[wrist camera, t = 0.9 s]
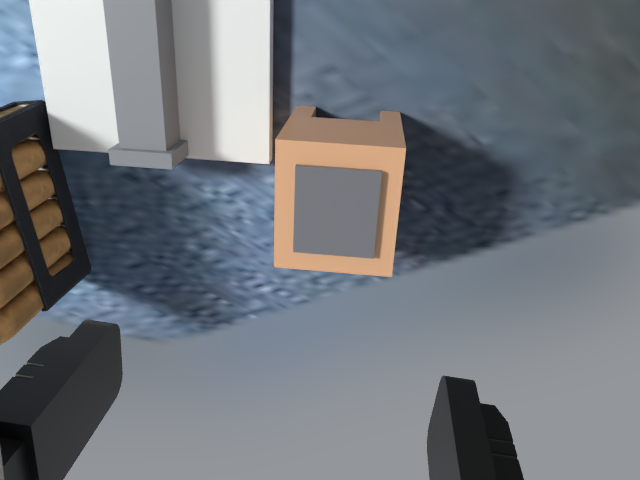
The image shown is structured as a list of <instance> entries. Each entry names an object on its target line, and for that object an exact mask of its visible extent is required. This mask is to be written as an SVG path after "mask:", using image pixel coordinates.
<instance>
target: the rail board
mask: <svg viewBox="0 0 640 480" xmlns="http://www.w3.org/2000/svg"><path fill="white" fill-rule="evenodd" d="M29 3H30V9H31V15H32V22H33V28H34V34H35V40H36V46H37V52H38V58H39V64H40V70H41V76H42V82H43V88H44V94H45V101H46V107H47V113H48V119H49V125H50V131H51V137H52V143H53V149H63V150H77V151H91V152H105V153H109V160H110V165H116V166H130V167H144V168H157V169H171V170H173V169H174V168H175V167H176V166H177V165H178V164H179V163H180V162H181V161H182V160H184V159H185V158H190V159H204V160H218V161H232V162H246V163H260V164H270V162H271V160H272V138H273V9H274V0H29Z"/></svg>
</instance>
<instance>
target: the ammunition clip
mask: <svg viewBox="0 0 640 480" xmlns="http://www.w3.org/2000/svg"><path fill="white" fill-rule="evenodd" d="M90 270H91V267H90V263H89V260H88V256H87V253H86V249H85V246H84V242H83V238H82V235H81V231H80V228H79V224H78V221H77V217H76V213H75V210H74V206H73V203H72V199H71V196H70V192H69V188H68V185H67V181H66V178H65V174H64V171H63V167H62V164H61V160H60V156H59V153H58V149H53V143H52V137H51V131H50V125H49V119H48V114H47V110H46V106H45V103H44V101H42V100H36V101H21V102H12V103H10V104H7V105H5V106H3V107H0V345H1V344H2V343H4V342H6V341H7V340H9V339H10V338H12V337H13V336H14V335H15V334H16V333H17V332H19V331H20V330H21V329H22V328H23V327H24V326H25V325H26V324H27V323H28V322H29V321H30V320H31V319H32V318H33V317H34V316H35V315H36V314H37V313H38V312H39V311H40V310H42V311H48V310H49V309H50V308H51V307H52V306H53V305H54V304H55V303H56V302H57V301H59V300H60V299H61V298H62V297H63V296H64V295H65V294H66V293H67V292H68V291H70V290H71V289H72V288H73V287H74V286H75V285H76V284H77V283H79V282H80V281H81V280H82V279H83V278H84V277H85V276H86V275H88V274H89V273H90Z"/></svg>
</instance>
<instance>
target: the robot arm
mask: <svg viewBox="0 0 640 480" xmlns="http://www.w3.org/2000/svg"><path fill="white" fill-rule="evenodd" d="M121 382H122V357H121V339H120V329H119V326H118V325H117V324H113V323H106V322H100V321H94V320H85V321H83V322H82V323H81V325H80V326H79V327H78V328H77V329H76V330H75V331H74V333H73V334H72V335H71V336H70V337H69V338H68V337H61V336H60V337H59V338H57V339H55V340H53V341H51V342H50V343H48V344H46V345H44V346H43V347H41V348H40V349H39V350H38V351H37V352H36V353H35V354H34V355H33V356H32V357H31V358H30V359H29V360H28V362H27V365H24V366H23V367H22V368H21V369H20V370H19V371H18V372H17V373H16V376H15V377H12V378H11V379H10V381H9V382H8V383H7V384H6V385H5V386H4V387H3V388H2V389H1V390H0V480H63V479H64V478H65V476H66V474H67V473H68V471H69V470H70V468H71V467H72V465H73V464H74V462H75V461H76V459H77V458H78V456H79V455H80V453H81V451H82V450H83V448H84V447H85V445H86V444H87V442H88V441H89V439H90V438H91V436H92V435H93V433H94V431H95V430H96V428H97V427H98V425H99V424H100V422H101V421H102V419H103V418H104V416H105V414H106V413H107V411H108V410H109V408H110V407H111V405H112V403H113V402H114V400H115V399H116V397H117V395H118V393H119V390H120V386H121ZM427 454H428V465H429V477H430V480H524V479H523V475H522V471H521V468H520V464H519V461H518V460H517V453H516V450H515V446H514V444H513V439H512V435H511V432H510V428H509V425H508V422H507V421H506V419H505V418H504V417H503V416H502V414H501V413H500V412H499V410H498V409H497V408H496V406H494V405H488V404H481V403H480V401H479V397H478V393H477V388H476V384H475V381H473V380H468V379H462V378H455V377H449V376H442V378H441V380H440V383H439V387H438V392H437V395H436V399H435V404H434V407H433V411H432V416H431V419H430V423H429V429H428V437H427Z"/></svg>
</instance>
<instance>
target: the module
mask: <svg viewBox="0 0 640 480" xmlns="http://www.w3.org/2000/svg"><path fill="white" fill-rule="evenodd" d="M405 155H406V144H405V138H404V133H403V127H402V121H401V115H400V112H393V111H381V113H380V121H365V120H349V119H334V118H319V117H316V107H315V106H299V105H297V107H296V108H295V110H294V111H293V113H292V114H291V116H290V117H289V119H288V120H287V122H286V124H285V125H284V127H283V128H282V130H281V131H280V133H279V134H278V136H277V137H276V139H275V222H274V267H278V268H290V269H302V270H314V271H326V272H338V273H350V274H362V275H374V276H386V277H392V270H393V261H394V252H395V243H396V234H397V226H398V217H399V208H400V199H401V190H402V181H403V172H404V164H405Z"/></svg>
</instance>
